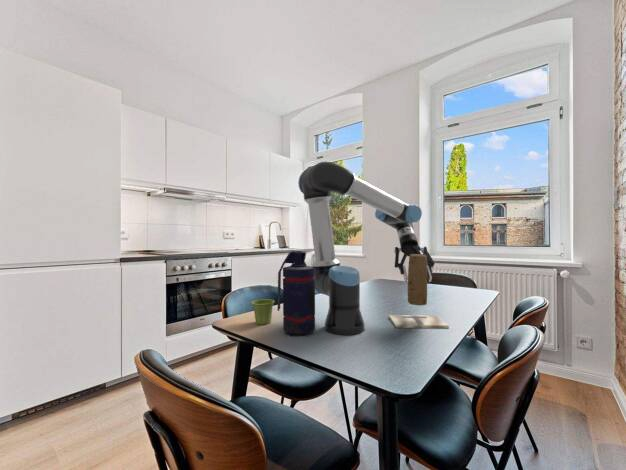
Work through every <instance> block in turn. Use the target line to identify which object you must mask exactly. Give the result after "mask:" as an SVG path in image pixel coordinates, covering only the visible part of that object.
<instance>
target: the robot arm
mask: <svg viewBox="0 0 626 470" xmlns="http://www.w3.org/2000/svg"><path fill="white" fill-rule="evenodd" d="M298 189H299V191H300V192H301V193H302V194H303V200H304V202H305V203H306V204H308V211H309V212H308V213H309V218H310V226H311V235H312V237H311V238H312V242H313V243H312V244H313V251H314V259H315V260H314V262H313V263H312V265H311V267H314V268H315V276H314V277H313V278H315V291H316V292H318V293H319V294H321V295H325V296H328V298H329V300H328V301H329V302H328V312H327V315H326V318H325V320H324V329H325V331H326V332H328V333H331V334H334V335H341V336H342V335H343V336H351V335H357V334H361V333H363V332H364V331H365V321H364V319H363V315H362V311H361V307H360V304H361V303H360V299H361V298H360V297H361V294H360V292H361V291H360V288H361V287H360V285H361V284H360V283H361V277H360V271H359V270H358V269H357V268H355V267H352V266H346V265H341V262H340V260H339V259H337V258H336V250H335V241H334V233H333V227H332V226H333V225H332V217H331V210H330V208H331V207H330V200H331V199H332V198H333V197H332V193H337V194H338V195H341V196H345V195H347V196H350V197H351V198H353V199H355V200H358V201H360V202H361V203H363V204H366V205H367V206H368V207H369V206H370V207H371V208H374V209H375V212H374V216H375V218H376V219H377V220H378V221H380V222H381V223H383V224H386V225H388V226H389V227H391V228H393V229H395V230H396V232H397V237H398V240H399V241H398V242H399V244H400V247H398V246H395V247H394V251H393V252H394V254H395V257H394V268H395V269H397V268H398V270H399V273H400V275H402V276H403V281H404V283H408V271H407V268H406V265H405V261H406V259H407V257H410V255H411V254H425V255H426V256H427V282H428V283H431V282H432V279H433V277H432V275H433V274H432V273H433V269H432V268H434V266H435V264H436V262H435V261H434V259H433V257H432V256H431V254H430V253H429V251H428V248H427V246H423V247H421V246H419V243H418V242H419V241H418V238H417V236H416V232H415V229H414V225H413V223H417V222H419V221H420V220H421V218H422V215H423V214H422V213H423V212H422V208H421V207H420V206H419V205H417V204H412V203H411V204H408V203H406V202H404V201H402V200H401V199H399V198H396V197H395V196H393V195H391V194H388V192H385V191H384V190H381V189H379V188H378V187H376V186H374V185H372V184H370V183H368V182H367V181H365V180H362V178H359V177H357V176H356V175H355V172H354V171H351V170H349V169H348V168H346V167H344V166H341V165H339V164H336V163H333V162H331V161H321V162H318V163H317V164H315V165H312V166H310V167H307V168H306V169H305V170H304V171H302V172H301V174H300V175H299V177H298ZM401 252H402V253H403V255H402V258H401V260H399V258H400V257H399V256H400V253H401ZM399 261H400V262H399Z"/></svg>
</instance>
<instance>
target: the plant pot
mask: <svg viewBox="0 0 626 470" xmlns="http://www.w3.org/2000/svg"><path fill="white" fill-rule="evenodd" d="M274 303H275V300H274V299H269V298H267V299H266V298H264V299H262V298H261V299H256V300H252V301H251V304H252V307H253V312H254V319H255V324H257V325H264V324H265V325H268V324H270V323H271V322H272V316H273V314H272V313H273V306H274Z"/></svg>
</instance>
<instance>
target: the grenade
mask: <svg viewBox="0 0 626 470" xmlns="http://www.w3.org/2000/svg"><path fill="white" fill-rule="evenodd" d="M306 257H307V251H299V250H298V251H295V250H291V251H289V252H288V253H287V256H286V257H285V258H284V260H283V262H282V264H281V266H280V268H279V270H278V272H277V308H276V309H277V311H278V312H279V311H280V310H281V296H282V316H283V319H282V321H283V323H282V324H283V325H282V327H283V328H282V329H283V331H285V334H286V335H287V336H289V337H290V336H292V335H305V336H310V335H312V332H313V331H315V329H316V317H315V316H316V290H315V278H313V277H314V276H315V268H314V267H313V266H312V265H311V266H310V265H307V263H306V261H305V260H306ZM285 264H291V265H289V266H285ZM281 277H282V278H281ZM281 280H282V281H281ZM281 286H282V287H281ZM281 288H282V291H281ZM281 293H282V295H281Z"/></svg>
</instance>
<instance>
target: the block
mask: <svg viewBox="0 0 626 470" xmlns="http://www.w3.org/2000/svg"><path fill="white" fill-rule="evenodd" d="M407 269H408V270H407V276H408V280H407V302H408V304H410V305H411V306H420V307H421V306H425V305H426V306H427V303H428V278H427V256H426V255H425V254H423V253H421V254H411V255H410V256H408V267H407Z"/></svg>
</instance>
